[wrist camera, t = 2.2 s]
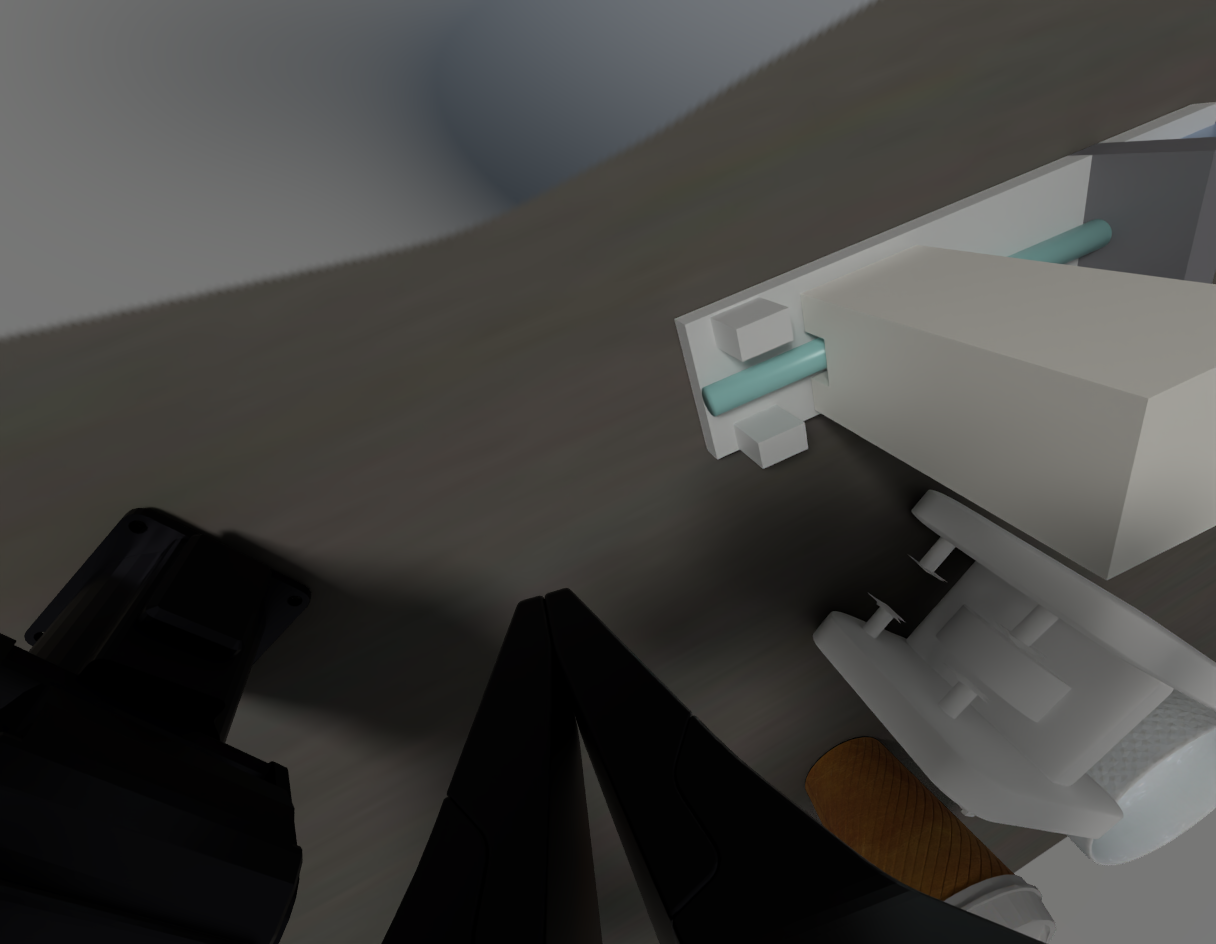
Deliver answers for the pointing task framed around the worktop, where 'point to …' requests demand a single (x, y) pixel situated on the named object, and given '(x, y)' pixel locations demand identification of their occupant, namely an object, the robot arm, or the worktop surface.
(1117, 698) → the cable organizer
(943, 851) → the disposable coffee cup
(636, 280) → the worktop surface
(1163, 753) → the cereal bowl
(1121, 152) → the cord rail
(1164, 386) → the grey rectangular box
